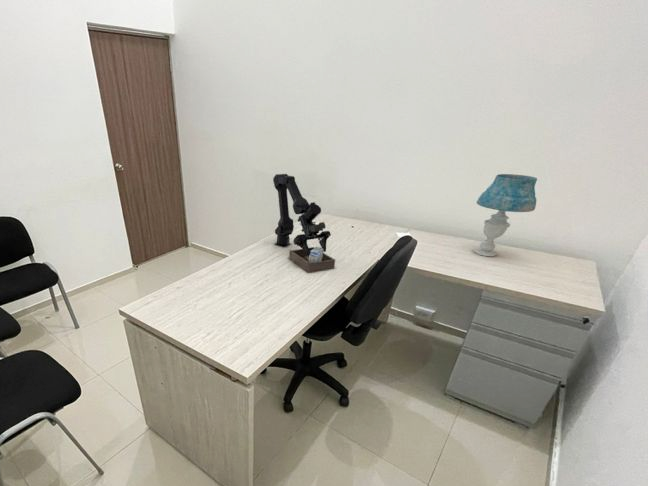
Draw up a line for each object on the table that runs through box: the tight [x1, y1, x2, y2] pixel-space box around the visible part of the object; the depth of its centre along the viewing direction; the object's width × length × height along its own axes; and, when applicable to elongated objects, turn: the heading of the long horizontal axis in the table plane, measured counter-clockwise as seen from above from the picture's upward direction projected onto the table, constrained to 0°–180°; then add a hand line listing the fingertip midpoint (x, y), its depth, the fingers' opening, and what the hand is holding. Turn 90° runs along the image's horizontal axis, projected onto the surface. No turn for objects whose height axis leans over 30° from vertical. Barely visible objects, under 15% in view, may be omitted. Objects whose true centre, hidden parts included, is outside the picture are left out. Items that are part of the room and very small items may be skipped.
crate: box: [288, 246, 336, 273], centre depth 167 cm, size 19×15×4 cm
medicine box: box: [308, 246, 324, 263], centre depth 163 cm, size 8×4×9 cm, turn 144°
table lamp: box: [473, 173, 538, 257], centre depth 169 cm, size 24×24×40 cm
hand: (317, 253), depth 161 cm, fingers open, 9 cm apart
